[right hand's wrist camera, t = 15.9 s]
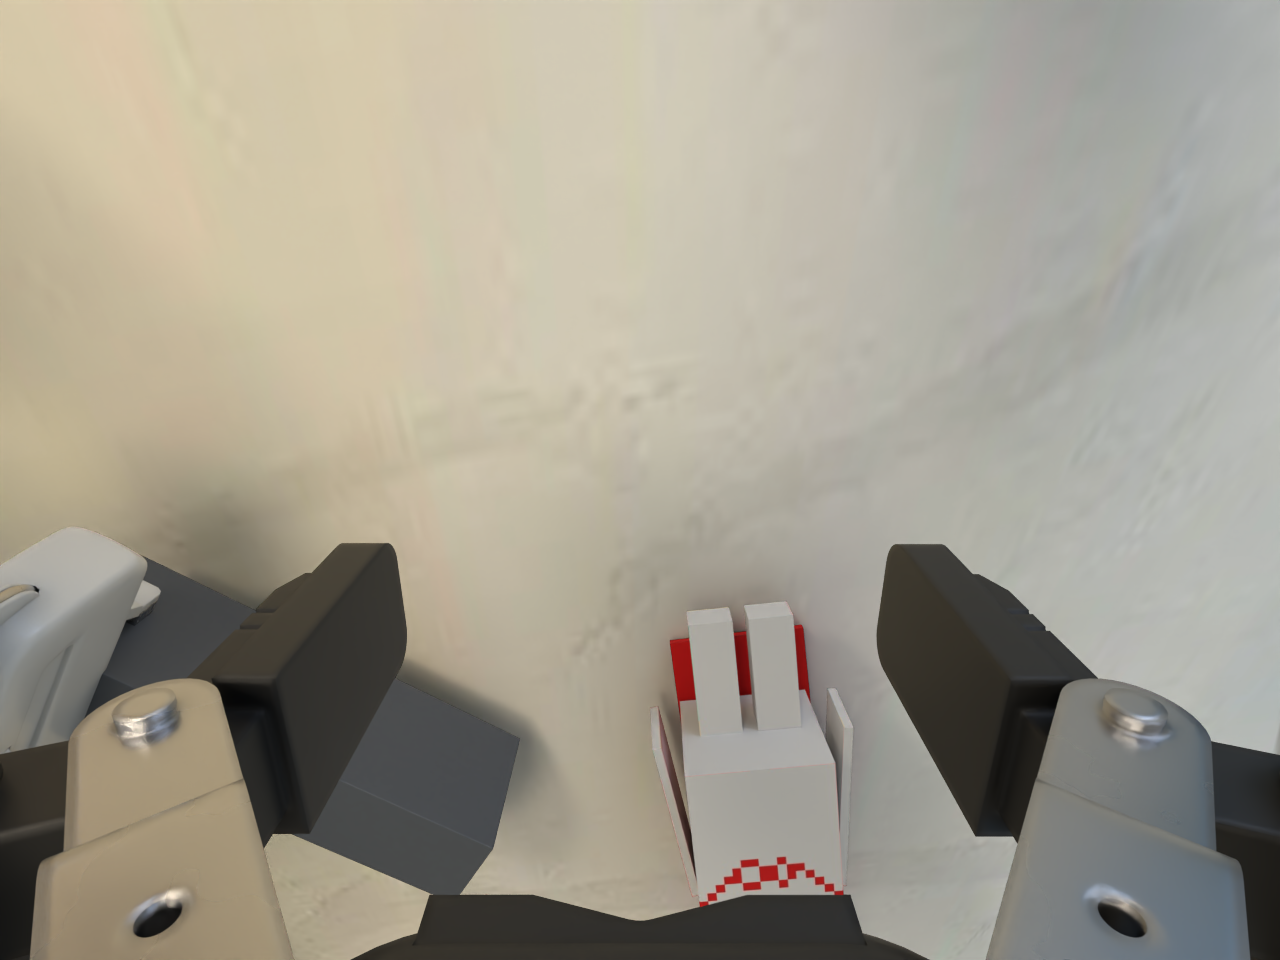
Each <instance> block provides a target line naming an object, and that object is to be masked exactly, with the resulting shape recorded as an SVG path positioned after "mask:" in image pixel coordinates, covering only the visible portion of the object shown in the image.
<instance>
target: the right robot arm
mask: <svg viewBox="0 0 1280 960" xmlns="http://www.w3.org/2000/svg"><path fill="white" fill-rule="evenodd" d="M406 643H407V628H406V620H405V613H404V606H403V598H402V591H401V584H400V577H399V570H398V563H397V557H396V553H395V550H394V548H393V546H392V545H391V544H389V543H342V544H339V545H338V546H337V547H336V548H335V549H334V550H333V551H332V552H331V553H330V554H329V555H328V556H327V558H326V559H325V560H324V561H323V562H322V563H321V564H320V565H319V566H318V567H317V568H316V569H315V570H314V571H313V572H312V573H305V574H303V575H301V576H299V577H298V578H296V579H294V580H292V581H290V582H289V583H287V584H285V585H283V586H281V587H280V588H278V589H276V590H275V591H274V592H273V593H272V594H271V595H270V596H269V597H268V598H267V599H266V600H265V601H264V602H263V603H262V604H261V605H260V606H259V607H258V608H257V609H256V613H252V614H251V615H250V616H249V617H248V618H246V619H245V620H244V621H243V622H242V623H241V624H240V629H235V630H234V631H233V632H232V633H231V634H230V635H229V636H228V637H227V638H226V639H225V640H224V641H223V642H222V643H221V644H220V645H219V646H218V647H217V648H216V649H215V650H214V651H213V652H212V653H211V654H210V655H209V656H208V657H207V658H206V659H205V660H204V661H203V662H202V663H201V664H200V665H199V666H198V667H197V668H196V669H195V670H194V671H193V672H192V673H191V674H190V675H189V676H188V677H187V678H186V679H173V680H166V681H161V682H156V683H153V684H149V685H146V686H143V687H140V688H137V689H134V690H131V691H129V692H127V693H124V694H122V695H120V696H118V697H116V698H114V699H112V700H110V701H108V702H107V703H105V704H103V705H102V706H100V707H99V708H97V709H96V710H94V711H93V712H92V713H90V714H89V715H88V716H87V717H86V718H85V719H83V720H82V721H81V722H80V723H79V725H78V726H77V727H76V728H75V729H74V731H73V733H72V735H71V736H70V739H69V740H68V741H63V742H58V743H53V744H48V745H43V746H38V747H33V748H29V749H24V750H19V751H14V752H9V753H4V754H0V960H294V956H293V953H292V949H291V946H290V942H289V938H288V935H287V931H286V928H285V924H284V920H283V917H282V913H281V910H280V906H279V902H278V899H277V895H276V891H275V888H274V884H273V881H272V877H271V873H270V870H269V866H268V863H267V859H266V855H265V852H264V847H265V846H266V844H267V842H268V841H269V839H270V838H271V836H272V834H310V833H311V831H312V829H313V827H314V825H315V824H316V822H317V820H318V818H319V816H320V814H321V813H322V811H323V809H324V807H325V805H326V803H327V802H328V800H329V798H330V796H331V794H332V792H333V791H334V789H335V787H336V785H337V783H338V781H339V780H340V778H341V776H342V774H343V772H344V770H345V769H346V767H347V765H348V763H349V761H350V759H351V758H352V756H353V754H354V752H355V750H356V748H357V747H358V745H359V743H360V741H361V739H362V737H363V736H364V734H365V732H366V730H367V728H368V726H369V725H370V723H371V721H372V719H373V717H374V715H375V714H376V712H377V710H378V708H379V706H380V704H381V703H382V701H383V699H384V697H385V695H386V693H387V692H388V690H389V688H390V686H391V684H392V682H393V681H394V679H395V677H396V675H397V673H398V672H399V670H400V668H401V666H402V663H403V660H404V656H405V651H406ZM877 649H878V655H879V659H880V662H881V665H882V668H883V670H884V672H885V673H886V675H887V677H888V679H889V681H890V682H891V684H892V686H893V688H894V690H895V691H896V693H897V695H898V697H899V699H900V701H901V702H902V704H903V706H904V708H905V710H906V711H907V713H908V715H909V717H910V719H911V720H912V722H913V724H914V726H915V728H916V729H917V731H918V733H919V735H920V737H921V739H922V740H923V742H924V744H925V746H926V748H927V749H928V751H929V753H930V755H931V757H932V758H933V760H934V762H935V764H936V766H937V767H938V769H939V771H940V773H941V775H942V777H943V778H944V780H945V782H946V784H947V786H948V787H949V789H950V791H951V793H952V795H953V796H954V798H955V800H956V802H957V804H958V805H959V807H960V809H961V811H962V813H963V815H964V816H965V818H966V820H967V822H968V824H969V825H970V827H971V829H972V831H973V833H974V834H975V836H1013V837H1014V839H1015V840H1016V842H1017V843H1018V845H1017V848H1016V852H1015V855H1014V859H1013V863H1012V866H1011V870H1010V873H1009V877H1008V881H1007V884H1006V888H1005V891H1004V895H1003V899H1002V902H1001V906H1000V909H999V913H998V917H997V920H996V924H995V928H994V931H993V935H992V938H991V942H990V946H989V949H988V953H987V956H986V960H1280V755H1276V754H1271V753H1266V752H1261V751H1256V750H1251V749H1246V748H1241V747H1236V746H1231V745H1226V744H1222V743H1217V742H1212V741H1211V739H1210V736H1209V735H1208V733H1207V731H1206V729H1205V728H1204V727H1203V726H1202V725H1201V723H1200V722H1199V721H1198V720H1197V719H1195V718H1194V717H1193V716H1192V715H1191V714H1190V713H1188V712H1187V711H1186V710H1184V709H1183V708H1181V707H1180V706H1178V705H1177V704H1175V703H1173V702H1172V701H1170V700H1168V699H1166V698H1164V697H1162V696H1160V695H1158V694H1156V693H1153V692H1151V691H1149V690H1146V689H1143V688H1140V687H1137V686H1134V685H1131V684H1127V683H1124V682H1119V681H1114V680H1107V679H1098V678H1097V677H1096V676H1095V675H1094V674H1093V673H1092V672H1091V671H1090V670H1089V669H1088V668H1087V667H1086V666H1085V665H1084V664H1083V663H1082V662H1081V661H1080V660H1079V659H1078V658H1077V657H1076V656H1075V655H1074V654H1073V653H1072V652H1071V651H1070V650H1069V649H1068V648H1067V647H1066V646H1065V645H1064V644H1063V643H1062V642H1061V641H1060V640H1058V639H1057V638H1056V637H1055V636H1054V635H1053V634H1052V633H1051V632H1050V631H1046V630H1045V626H1044V625H1043V624H1042V623H1041V622H1040V621H1039V620H1038V619H1037V618H1036V617H1035V616H1034V615H1033V614H1029V610H1028V609H1027V608H1026V607H1025V606H1024V605H1023V604H1022V603H1021V602H1020V601H1019V600H1018V599H1017V598H1016V597H1015V596H1014V595H1013V594H1012V593H1011V592H1010V591H1008V590H1006V589H1005V588H1003V587H1001V586H999V585H997V584H995V583H994V582H992V581H990V580H988V579H986V578H985V577H983V576H981V575H979V574H972V573H971V572H970V571H969V570H968V569H967V568H966V567H965V566H964V565H963V563H962V562H961V561H960V560H959V559H958V558H957V557H956V556H955V555H954V554H953V553H952V552H951V551H950V550H949V549H948V548H947V547H946V546H945V545H942V544H895V545H893V546H892V547H891V549H890V551H889V553H888V557H887V562H886V569H885V576H884V583H883V590H882V597H881V604H880V611H879V618H878V625H877ZM351 960H929V959H927V958H925V957H923V956H921V955H918V954H916V953H914V952H912V951H910V950H908V949H906V948H904V947H902V946H899V945H896V944H894V943H891V942H888V941H886V940H883V939H880V938H877V937H874V936H870V935H867V934H863V933H862V930H861V927H860V924H859V921H858V918H857V914H856V911H855V908H854V905H853V902H852V899H851V895H744V896H741V897H737V898H733V899H729V900H725V901H721V902H717V903H713V904H710V905H706V906H702V907H698V908H694V909H690V910H686V911H682V912H678V913H675V914H671V915H667V916H663V917H659V918H655V919H651V920H645V921H635V920H629V919H625V918H621V917H617V916H613V915H609V914H605V913H602V912H598V911H594V910H590V909H586V908H582V907H578V906H574V905H570V904H567V903H563V902H559V901H555V900H551V899H547V898H543V897H539V896H536V895H429V899H428V902H427V905H426V908H425V911H424V914H423V918H422V921H421V924H420V927H419V930H418V933H417V934H413V935H410V936H406V937H403V938H400V939H397V940H394V941H392V942H389V943H386V944H384V945H381V946H378V947H376V948H374V949H372V950H370V951H368V952H366V953H364V954H362V955H359V956H357V957H355V958H353V959H351Z"/></svg>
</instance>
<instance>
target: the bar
mask: <svg viewBox="0 0 1280 960" xmlns="http://www.w3.org/2000/svg"><path fill="white" fill-rule="evenodd" d="M139 555H140V554H139ZM141 556H142V555H141ZM142 557H143V558H144V559H145V560H146V561H147V571H146V573H145V576H144V578H143V580H144V581H146V582H148V583H150V584H152V585H154V586H156V587H158V588H159V589H160V591H161V592H160V596H159V598H158V600H157V602H156V604H155V607H154V609H153V611H152V613H151V614H149V615H148V616H146V617H145V618H144V619H143V620H142V621H140V622H139V623H138V624H137V625H135V626H133V625H131V624H129V623H127V622H125V624H124V627H123V629H122V632H121V634H120V637H119V639H118V641H117V644H116V646H115V649H114V651H113V654H112V656H111V659H110V661H109V663H108V666H107V668H106V670H105V671H104V672H103V674H102V676H101V678H100V681H99V683H98V686H97V688H96V690H95V693H94V695H93V698H92V700H91V703H90V705H89V708H88V710H87V713H86V715H85V718H86V717H87V716H88V715H89V714H90V713H92V712H93V711H94V710H96V709H97V708H99V707H100V706H102V705H103V704H105V703H107V702H108V701H110V700H112V699H114V698H116V697H118V696H120V695H122V694H124V693H127V692H129V691H131V690H134V689H137V688H140V687H143V686H146V685H149V684H153V683H156V682H161V681H166V680H173V679H186V678H187V677H188V676H189V675H190V674H191V673H192V672H193V671H194V670H195V669H196V668H197V667H198V666H199V665H200V664H201V663H202V662H203V661H204V660H205V659H206V658H207V657H208V656H209V655H210V654H211V653H212V652H213V651H214V650H215V649H216V648H217V647H218V646H219V645H220V644H221V643H222V642H223V641H224V640H225V639H226V638H227V637H228V636H229V635H230V634H231V633H232V632H233V631H234V630H235V629H240V624H241V623H242V622H243V621H244V620H245V619H246V618H248V617H249V616H250V615H251V614H252V613H256V611H255V610H253V609H251V608H249V607H247V606H245V605H243V604H241V603H239V602H237V601H235V600H233V599H231V598H229V597H227V596H225V595H222V594H220V593H218V592H216V591H214V590H212V589H210V588H208V587H206V586H204V585H202V584H200V583H198V582H196V581H194V580H191V579H189V578H187V577H185V576H183V575H181V574H179V573H177V572H175V571H173V570H171V569H169V568H167V567H165V566H163V565H160V564H158V563H156V562H154V561H152V560H150V559H148V558H146V557H144V556H142ZM85 718H84V719H85ZM519 741H520V738H518V737H516V736H514V735H512V734H510V733H507V732H505V731H503V730H501V729H499V728H497V727H495V726H493V725H491V724H489V723H487V722H485V721H483V720H481V719H479V718H476V717H474V716H472V715H470V714H468V713H466V712H464V711H462V710H460V709H458V708H456V707H454V706H452V705H450V704H448V703H446V702H443V701H441V700H439V699H437V698H435V697H433V696H431V695H429V694H427V693H425V692H423V691H421V690H419V689H417V688H415V687H412V686H410V685H408V684H406V683H404V682H402V681H400V680H398V679H396V678H395V679H394V681H393V682H392V684H391V686H390V688H389V690H388V692H387V693H386V695H385V697H384V699H383V701H382V703H381V704H380V706H379V708H378V710H377V712H376V714H375V715H374V717H373V719H372V721H371V723H370V725H369V726H368V728H367V730H366V732H365V734H364V736H363V737H362V739H361V741H360V743H359V745H358V747H357V748H356V750H355V752H354V754H353V756H352V758H351V759H350V761H349V763H348V765H347V767H346V769H345V770H344V772H343V774H342V776H341V778H340V780H339V781H338V783H337V785H336V787H335V789H334V791H333V792H332V794H331V796H330V798H329V800H328V802H327V803H326V805H325V807H324V809H323V811H322V813H321V814H320V816H319V818H318V820H317V822H316V824H315V825H314V827H313V829H312V831H311V833H310V834H293V835H295V836H297V837H300V838H302V839H304V840H307V841H309V842H311V843H314V844H316V845H318V846H321V847H323V848H325V849H328V850H330V851H332V852H335V853H337V854H339V855H342V856H344V857H346V858H349V859H351V860H353V861H356V862H358V863H360V864H363V865H365V866H367V867H370V868H372V869H375V870H377V871H379V872H382V873H384V874H386V875H389V876H391V877H393V878H396V879H398V880H400V881H403V882H405V883H407V884H410V885H412V886H414V887H417V888H419V889H421V890H424V891H426V892H428V893H431V894H433V895H460V894H461V892H462V891H463V889H464V888H465V887H466V885H467V884H468V883H469V881H470V880H471V878H472V877H473V876H474V874H475V873H476V871H477V870H478V869H479V867H480V866H481V865H482V863H483V862H484V860H485V859H486V858H487V856H488V855H489V854H490V852H491V851H492V849H493V847H494V843H495V839H496V835H497V831H498V826H499V822H500V818H501V814H502V810H503V806H504V802H505V798H506V794H507V790H508V786H509V782H510V777H511V773H512V769H513V765H514V761H515V757H516V753H517V749H518V745H519Z"/></svg>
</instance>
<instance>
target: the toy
mask: <svg viewBox="0 0 1280 960" xmlns="http://www.w3.org/2000/svg"><path fill="white" fill-rule="evenodd" d="M686 612H687V621H688V630H689V638H686V639H678V640H670V647H671V654H672V661H673V669H674V676H675V683H676V691H677V698H678V705H679V713H680V720H681V728H682V742H683V757H684V772H685V783H686V791H687V800H688V809H689V817H690V826H691V830H690V826H689V822H688V818H687V815H686V811H685V807H684V803H683V799H682V796H681V792H680V788H679V784H678V780H677V776H676V773H675V769H674V765H673V761H672V757H671V753H670V750H669V746H668V742H667V738H666V734H665V730H664V727H663V723H662V719H661V715H660V711H659V708H658V706H657V707H652V708H650V713H651V730H652V748H653V753H654V757H655V761H656V764H657V768H658V772H659V776H660V779H661V783H662V787H663V790H664V794H665V798H666V802H667V805H668V809H669V813H670V816H671V820H672V824H673V828H674V831H675V835H676V839H677V842H678V846H679V850H680V854H681V857H682V861H683V865H684V868H685V872H686V876H687V880H688V883H689V887H690V891H691V894H692V897H693V896H698V895H699V903H700V907H702V906H706V905H710V904H713V903H717V902H721V901H725V900H729V899H733V898H737V897H741V896H744V895H844V894H843V886H846V881H847V859H848V836H849V814H850V792H851V770H852V747H853V726H852V723H851V721H850V719H849V717H848V714H847V712H846V710H845V708H844V705H843V703H842V701H841V699H840V696H839V694H838V692H837V690H836V688H827V717H826V739H825V737H824V735H823V732H822V730H821V727H820V725H819V723H818V720H817V718H816V715H815V713H814V711H813V708H812V706H811V702H810V692H809V682H808V672H807V662H806V652H805V641H804V631H803V627H802V625H795V626H794V618H793V614H792V612H791V609H790V607H789V605H788V603H787V601H783V602H773V603H763V604H753V605H744V612H745V623H746V631H744V632H736V633H733V622H732V618H731V614H730V610H729V607H723V608H713V609H703V610H693V611H686Z"/></svg>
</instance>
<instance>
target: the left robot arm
mask: <svg viewBox="0 0 1280 960" xmlns="http://www.w3.org/2000/svg"><path fill="white" fill-rule="evenodd" d="M146 571H147V561H146V560H145V559H144V558H143V557H142V556H141V555H139V554H138V553H136V552H135V551H133V550H131V549H129V548H128V547H126V546H124V545H122V544H121V543H119V542H117V541H115V540H113V539H111V538H108V537H106V536H104V535H101V534H99V533H97V532H94V531H91V530H88V529H85V528H81V527H67V528H63V529H61V530H59V531H56V532H54V533H53V534H51V535H49V536H47V537H45V538H44V539H42V540H40V541H38V542H37V543H35V544H33V545H32V546H30V547H28V548H27V549H25V550H23V551H22V552H20V553H18V554H17V555H15V556H14V557H12V558H10V559H9V560H7V561H6V562H4V563H2V564H1V565H0V754H4V753H9V752H14V751H19V750H24V749H29V748H33V747H38V746H43V745H48V744H53V743H58V742H63V741H68V740H69V739H70V736H71V735H72V733H73V731H74V729H75V728H76V727H77V726H78V725H79V723H80V722H81V721H82V720H83V719H84V718H85V715H86V713H87V710H88V708H89V705H90V703H91V700H92V698H93V695H94V693H95V690H96V688H97V686H98V683H99V681H100V678H101V676H102V674H103V672H104V671H105V670H106V668H107V666H108V663H109V661H110V659H111V656H112V654H113V651H114V649H115V646H116V644H117V641H118V639H119V637H120V634H121V632H122V629H123V627H124V624H125V622H127V623H129V624H131V625H133V626H135V625H137V624H138V623H139V622H140V621H142V620H143V619H144V618H145V617H146V616H148V615H149V614H151V613H152V611H153V609H154V607H155V604H156V602H157V600H158V598H159V596H160V592H161V591H160V589H159V588H158V587H156V586H154V585H152V584H150V583H148V582H146V581H144V580H143V578H144V576H145V573H146Z"/></svg>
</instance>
